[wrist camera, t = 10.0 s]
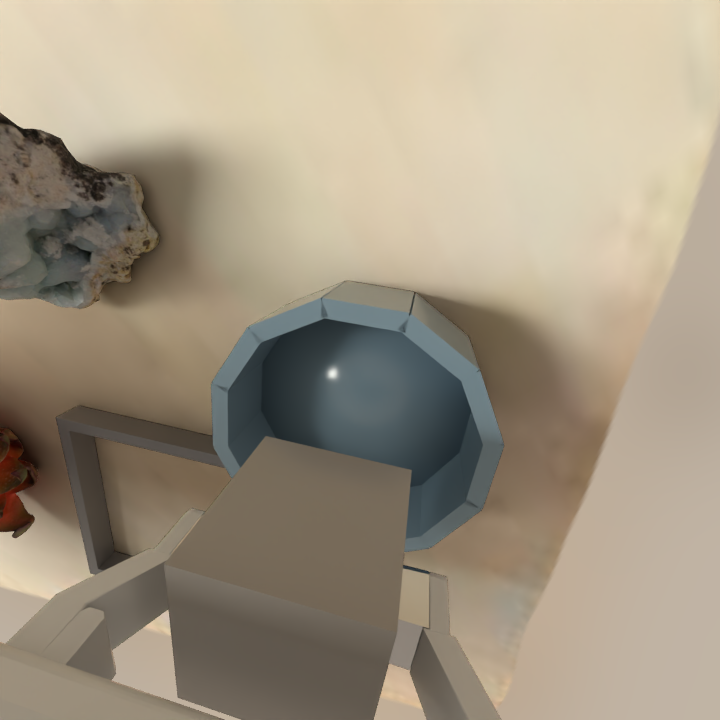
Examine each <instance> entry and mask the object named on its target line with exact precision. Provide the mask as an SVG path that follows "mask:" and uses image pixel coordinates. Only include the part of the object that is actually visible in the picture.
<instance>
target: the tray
mask: <svg viewBox="0 0 720 720" xmlns="http://www.w3.org/2000/svg"><path fill="white" fill-rule="evenodd" d="M56 421H57V425H58V430H59V434H60V439H61V443H62V448H63V452H64V457H65V461H66V466H67V470H68V475H69V479H70V484H71V488H72V493H73V497H74V502H75V506H76V511H77V515H78V520H79V524H80V529H81V533H82V538H83V542H84V546H85V551H86V555H87V560H88V564H89V569H90V573H91V574H95V575H96V574H98V573H100V572H102V571H104V570H106V569H108V568H110V567H113V566H115V565H117V564H119V563H121V562H123V561H125V560H127V559H129V558H131V557H132V556H129V555H125V554H122V553H118V552H115V551H114V546H113V540H112V534H111V529H110V523H109V518H108V512H107V507H106V501H105V496H104V490H103V484H102V479H101V473H100V468H99V462H98V457H97V451H96V446H95V440H94V437H98V438H102V439H107V440H111V441H115V442H119V443H123V444H127V445H132V446H136V447H140V448H144V449H148V450H152V451H157V452H161V453H165V454H169V455H173V456H177V457H182V458H186V459H190V460H194V461H198V462H202V463H207V464H211V465H215V466H219V467H223V468H225V466H224V465H223V463H222V461H221V459H220V458H219V456H218V454H217V453H216V451H215V449H214V448H213V447H214V446H213V436H209V435H204V434H200V433H196V432H191V431H187V430H183V429H178V428H174V427H170V426H165V425H161V424H156V423H152V422H148V421H143V420H139V419H135V418H130V417H126V416H122V415H117V414H113V413H109V412H104V411H100V410H96V409H91V408H87V407H82V406H76V407H75V408H73V409H71V410H69V411H67V412H65V413H63V414H61V415H59V416H57V417H56Z"/></svg>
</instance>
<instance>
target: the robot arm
mask: <svg viewBox="0 0 720 720" xmlns="http://www.w3.org/2000/svg"><path fill="white" fill-rule="evenodd" d="M204 513H205V511H201V510H197V509H194V508H191V509H190V510H188V511H187V512H186V513H185V514H184V515H183V516H182V517H181V518H180V520H179V521H178V522H177V523H176V524H175V525H174V527H173V528H172V529H171V530H170V531H169V532H168V533H167V535H166V536H165V537H164V538H163V539H162V540H161V542H160V543H159V544H158V545H157V546H156V547H155V548H154V550H153V549H147V550H145V551H143V552H141V553H139V554H137V555H135V556H133V557H131V558H129V559H127V560H125V561H123V562H121V563H119V564H117V565H115V566H113V567H110V568H108V569H106V570H104V571H102V572H100V573H98V574H96V575H94V576H92V577H90V578H88V579H86V580H84V581H82V582H80V583H78V584H76V585H74V586H72V587H70V588H68V589H66V590H64V591H62V592H60V593H58V594H56V595H55V596H54V597H53V598H52V599H51V600H50V601H49V602H48V603H47V604H46V605H45V606H44V607H43V608H42V609H41V610H40V611H39V612H38V613H36V614H35V615H34V617H33V618H31V619H30V620H29V621H28V622H27V623H26V624H25V625H24V626H23V627H22V628H21V629H20V630H19V631H18V632H17V633H16V634H15V635H14V636H13V637H12V638H11V639H10V640H9V641H8V642H7V643H6V644H4V643H2V642H0V720H224V719H221V718H218V717H216V716H212V715H210V714H207V713H204V712H201V711H198V710H195V709H192V708H190V707H187V706H184V705H181V704H178V703H175V702H172V701H169V700H166V699H164V698H161V697H158V696H155V695H152V694H149V693H146V692H143V691H140V690H137V689H135V688H132V687H129V686H126V685H123V684H120V683H117V682H114V681H112V679H113V677H114V676H115V674H116V666H115V662H114V657H113V652H112V650H113V649H114V648H116V647H117V646H119V645H120V644H121V643H123V642H124V641H125V640H126V639H128V638H129V637H131V636H132V635H134V634H135V633H136V632H138V631H139V630H140V629H142V628H143V627H144V626H146V625H147V624H149V623H150V622H151V621H153V620H154V619H155V618H157V617H158V616H160V615H161V614H162V613H164V612H165V611H166V610H168V609H169V608H168V598H167V589H166V579H165V569H164V564H165V562H166V561H167V560H168V559H169V557H170V556H171V555H172V554H173V552H174V551H175V550H176V548H177V547H178V546H179V545H180V543H181V542H182V541H183V540H184V538H185V537H186V536H187V535H188V533H189V532H190V531H191V530H192V528H193V527H194V526H195V525H196V523H197V522H198V521H199V520H200V518H201V517H202V516H203V514H204ZM389 663H390V664H393V665H396V666H398V667H401V668H404V669H407V670H410V674H411V677H412V680H413V683H414V686H415V688H416V691H417V694H418V697H419V699H420V702H421V705H422V708H423V711H424V713H425V716H426V719H427V720H501V718H500V716H499V715H498V713H497V711H496V709H495V707H494V705H493V704H492V702H491V700H490V698H489V696H488V695H487V693H486V691H485V689H484V687H483V686H482V684H481V682H480V680H479V679H478V677H477V675H476V673H475V671H474V670H473V668H472V666H471V664H470V662H469V661H468V659H467V657H466V655H465V653H464V652H463V650H462V648H461V646H460V644H459V643H458V641H457V639H456V637H454V636H451V635H450V624H449V600H448V580H447V577H446V576H442V575H439V574H435V573H431V572H428V571H425V570H421V569H417V568H413V567H409V566H405V565H403V573H402V584H401V595H400V606H399V617H398V629H397V635H396V639H395V642H394V646H393V650H392V653H391V657H390V661H389Z"/></svg>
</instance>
